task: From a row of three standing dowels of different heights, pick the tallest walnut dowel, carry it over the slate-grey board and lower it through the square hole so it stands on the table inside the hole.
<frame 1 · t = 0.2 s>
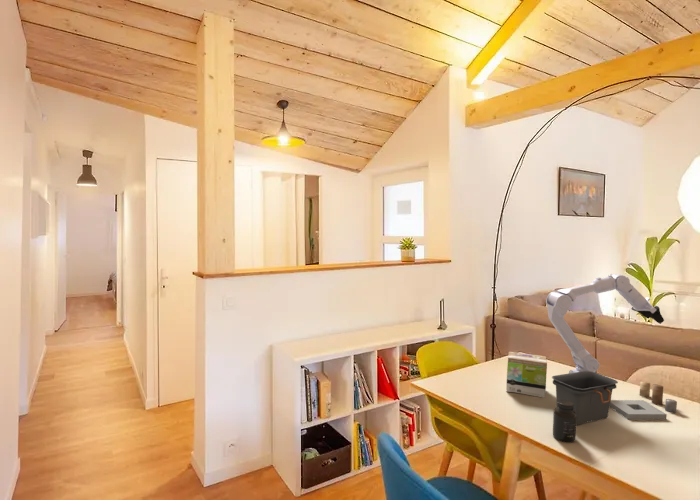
hand: (655, 319, 177), 31 cm above the table, tool tilted 45°, fingers open, 7 cm apart
storage bin: (585, 418, 154), on the table
hole board: (635, 412, 160), on the table
tea box: (525, 391, 179), on the table
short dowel: (670, 411, 161), on the table
supplement bottle: (563, 438, 140), on the table
long dowel: (657, 403, 168), on the table
medium dowel: (644, 395, 175), on the table
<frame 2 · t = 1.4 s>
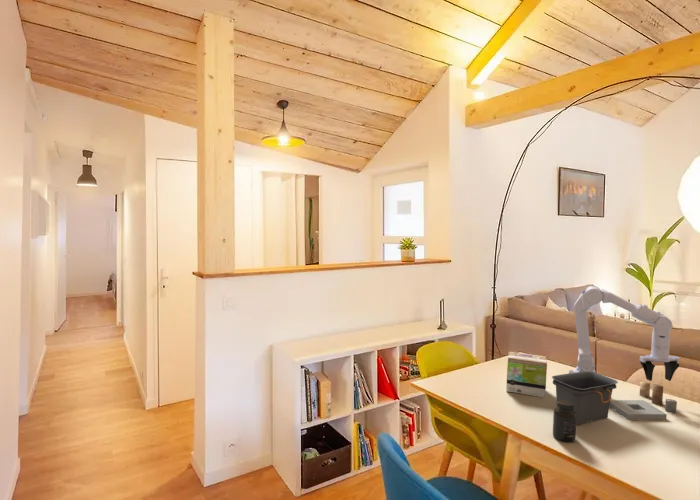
hand: (658, 379, 167), 9 cm above the table, tool pointing down, fingers open, 7 cm apart
nothing on the table moved.
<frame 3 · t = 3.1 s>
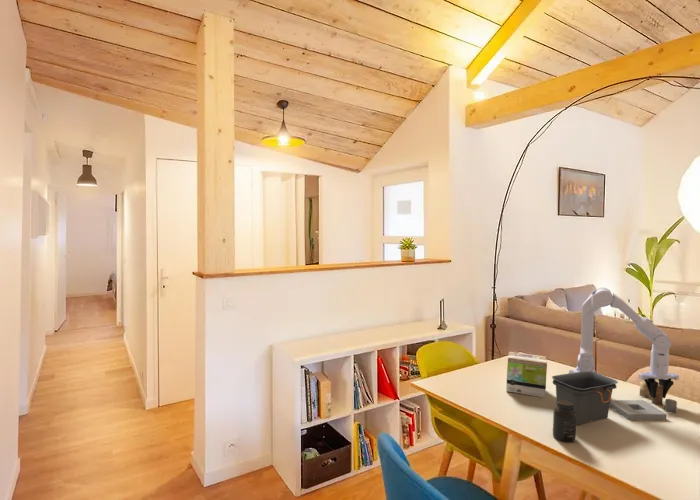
hand: (657, 397, 168), 2 cm above the table, tool pointing down, fingers closed on long dowel, 3 cm apart
long dowel: (657, 403, 168), on the table, touching gripper
everything else where it was.
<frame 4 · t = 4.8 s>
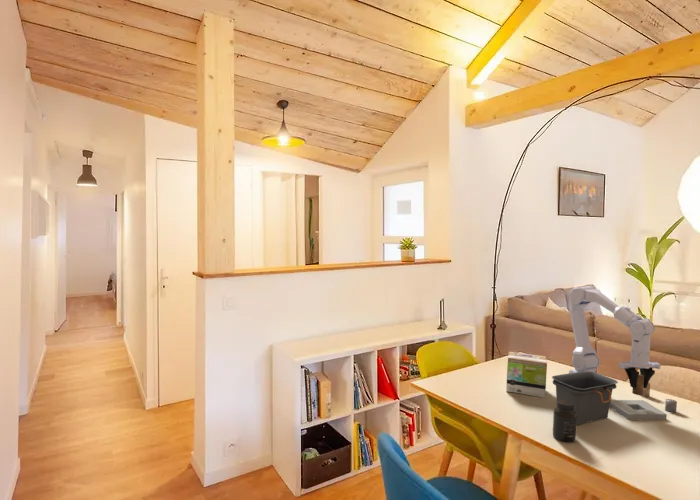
hand: (638, 387, 159), 9 cm above the table, tool pointing down, fingers closed on long dowel, 3 cm apart
long dowel: (637, 393, 160), point 7 cm above the table, touching gripper
everything else where it was.
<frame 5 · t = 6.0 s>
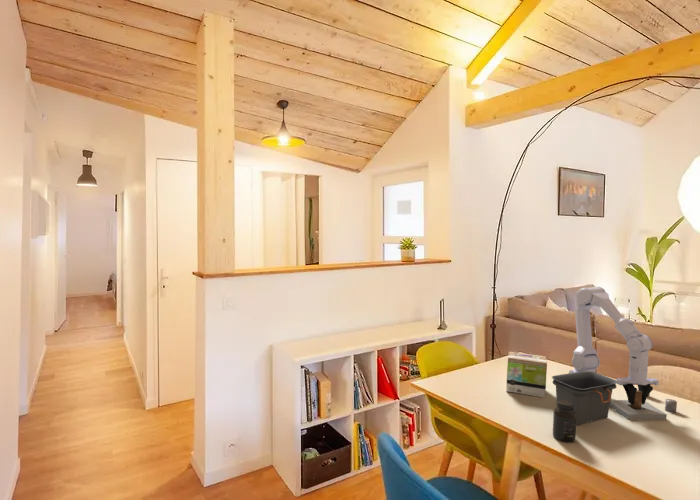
hand: (636, 403, 159), 3 cm above the table, tool pointing down, fingers closed on long dowel, 3 cm apart
long dowel: (635, 409, 160), point 1 cm above the table, touching gripper
everything else where it was.
when the fingers open (3 cm above the table, at t = 6.9 s): long dowel stays where it is, resting in hole board.
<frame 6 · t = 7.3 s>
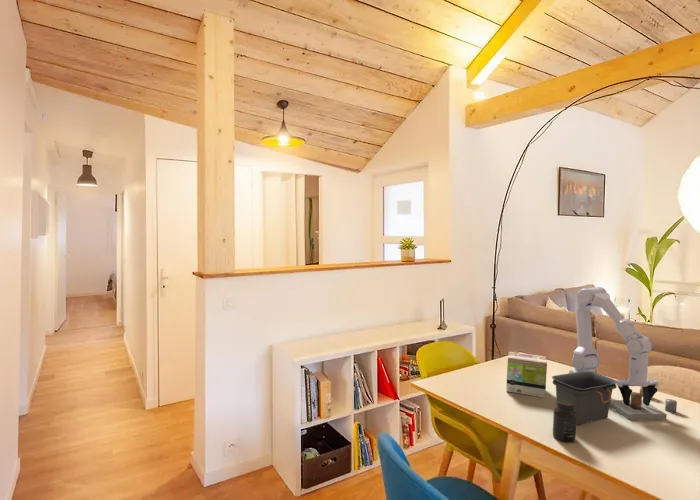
hand: (636, 404, 159), 3 cm above the table, tool pointing down, fingers open, 7 cm apart
long dowel: (635, 412, 160), resting in hole board
everything else where it was.
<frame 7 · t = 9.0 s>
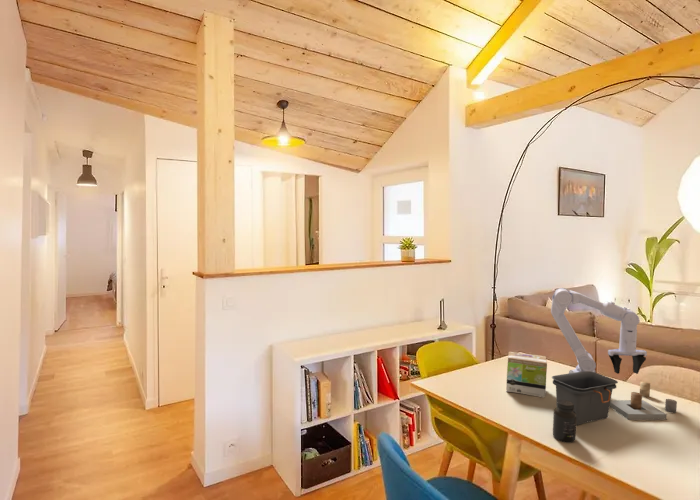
hand: (626, 372, 173), 10 cm above the table, tool pointing down, fingers open, 7 cm apart
nothing on the table moved.
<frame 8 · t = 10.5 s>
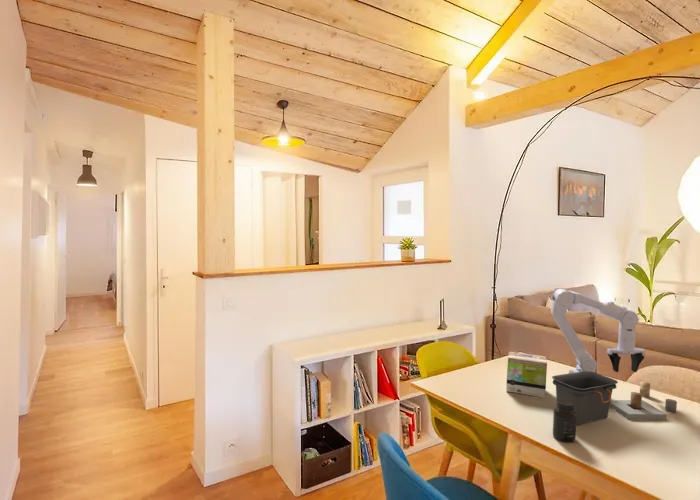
hand: (624, 371, 175), 10 cm above the table, tool pointing down, fingers open, 7 cm apart
nothing on the table moved.
at the end: long dowel 0.1 cm off-centre on the hole board, point 0.0 cm above the hole board's base; long dowel tilted 0°; the gripper is holding nothing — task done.
